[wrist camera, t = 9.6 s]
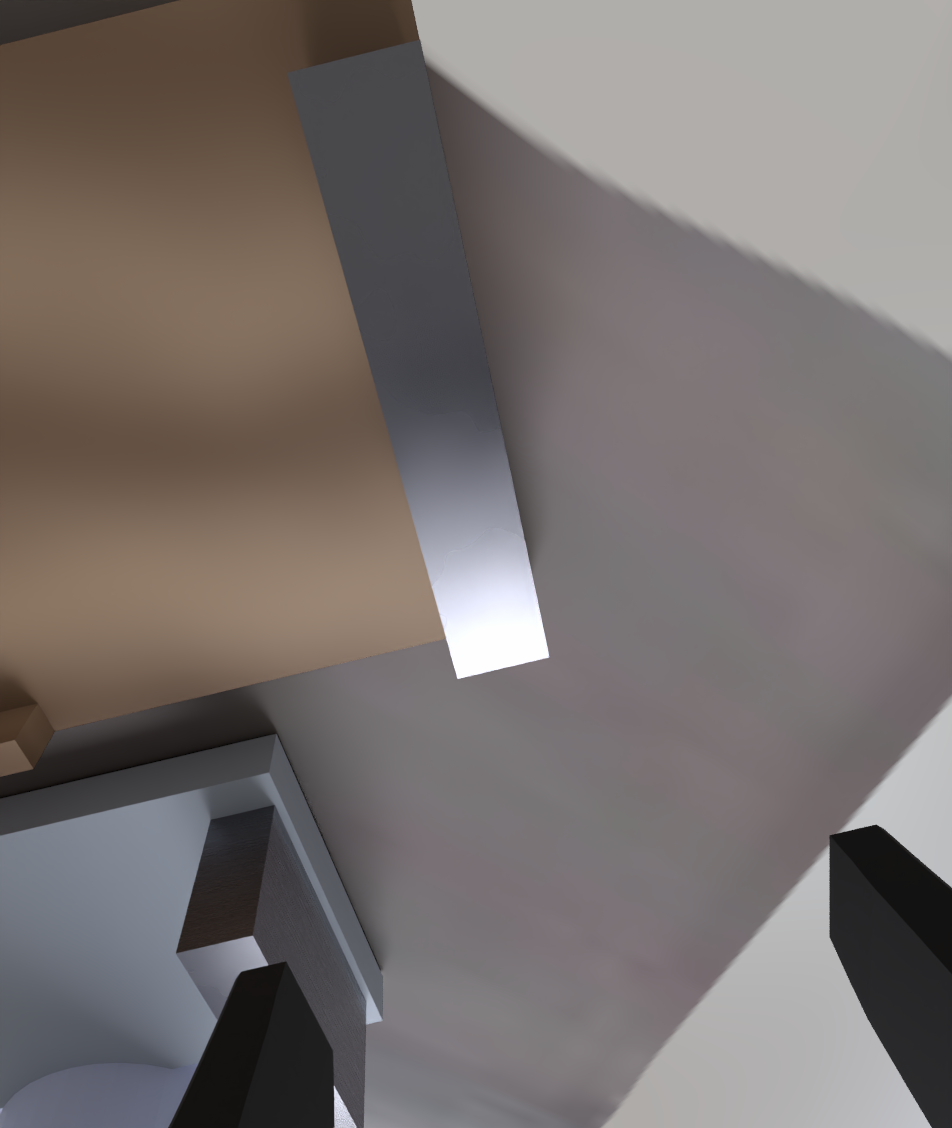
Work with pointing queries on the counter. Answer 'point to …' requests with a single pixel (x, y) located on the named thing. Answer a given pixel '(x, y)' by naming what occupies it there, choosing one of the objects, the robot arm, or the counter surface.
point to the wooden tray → (237, 367)
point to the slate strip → (172, 917)
